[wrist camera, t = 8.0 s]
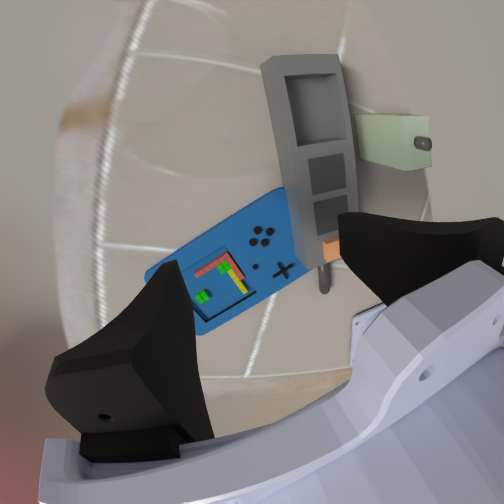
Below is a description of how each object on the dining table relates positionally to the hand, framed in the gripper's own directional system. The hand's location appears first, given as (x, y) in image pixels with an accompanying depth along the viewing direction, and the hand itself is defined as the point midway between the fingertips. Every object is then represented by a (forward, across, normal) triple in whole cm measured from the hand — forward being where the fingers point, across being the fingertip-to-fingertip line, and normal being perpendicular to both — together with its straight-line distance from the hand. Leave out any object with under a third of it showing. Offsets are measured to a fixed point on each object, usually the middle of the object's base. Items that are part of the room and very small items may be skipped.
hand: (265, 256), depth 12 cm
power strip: (+10, -7, +1) cm, 13 cm away
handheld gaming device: (+11, 0, +6) cm, 12 cm away
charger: (+10, -14, -3) cm, 17 cm away
